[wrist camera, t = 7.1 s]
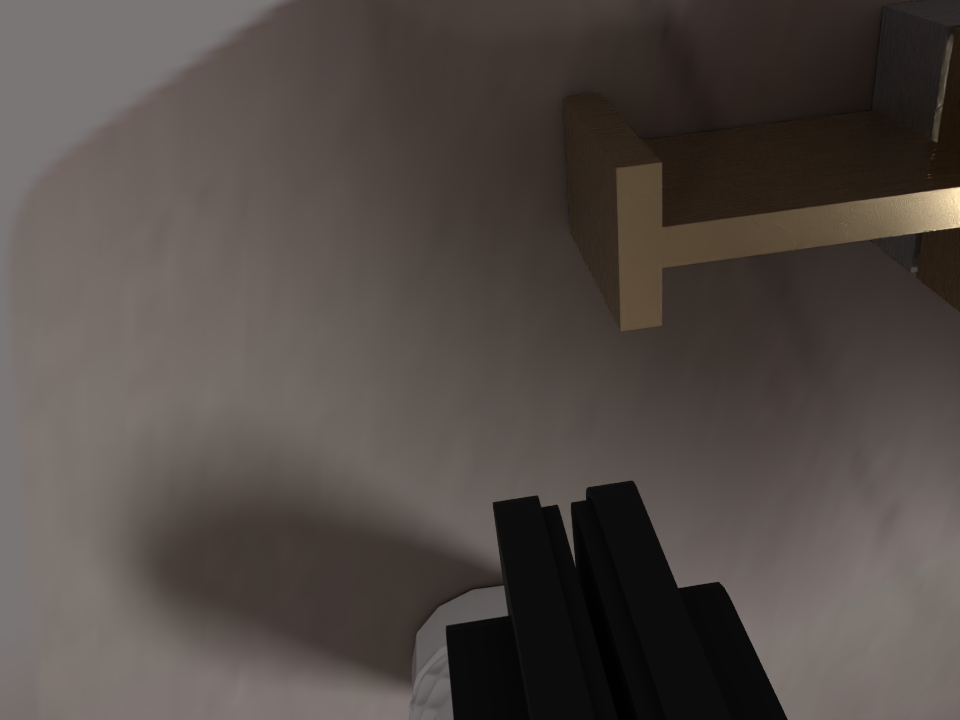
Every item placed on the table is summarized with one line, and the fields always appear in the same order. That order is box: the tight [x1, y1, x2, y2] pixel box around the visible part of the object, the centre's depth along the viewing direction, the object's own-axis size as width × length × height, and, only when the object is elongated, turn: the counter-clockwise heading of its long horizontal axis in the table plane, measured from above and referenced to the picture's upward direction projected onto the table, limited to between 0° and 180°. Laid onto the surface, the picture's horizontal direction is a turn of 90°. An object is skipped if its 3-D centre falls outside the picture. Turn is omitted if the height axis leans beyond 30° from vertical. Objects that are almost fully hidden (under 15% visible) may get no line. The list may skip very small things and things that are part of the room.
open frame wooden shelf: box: [563, 28, 960, 331], centre depth 23 cm, size 16×7×6 cm, turn 96°
